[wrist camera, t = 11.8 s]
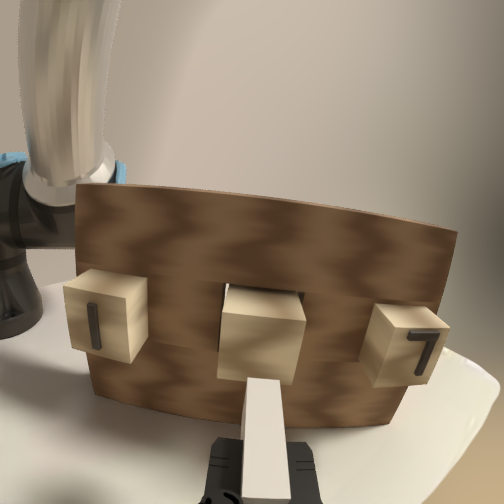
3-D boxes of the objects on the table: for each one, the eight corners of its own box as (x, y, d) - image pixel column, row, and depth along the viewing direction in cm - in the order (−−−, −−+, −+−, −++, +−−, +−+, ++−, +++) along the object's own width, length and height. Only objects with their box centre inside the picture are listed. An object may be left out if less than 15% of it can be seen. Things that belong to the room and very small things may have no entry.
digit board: (76, 421, 20) (40, 187, 15) (121, 356, 31) (117, 181, 26) (402, 452, 20) (491, 243, 15) (369, 382, 31) (415, 218, 27)
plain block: (216, 378, 18) (222, 311, 17) (228, 318, 27) (233, 267, 26) (291, 385, 18) (306, 320, 17) (282, 324, 27) (290, 274, 26)
